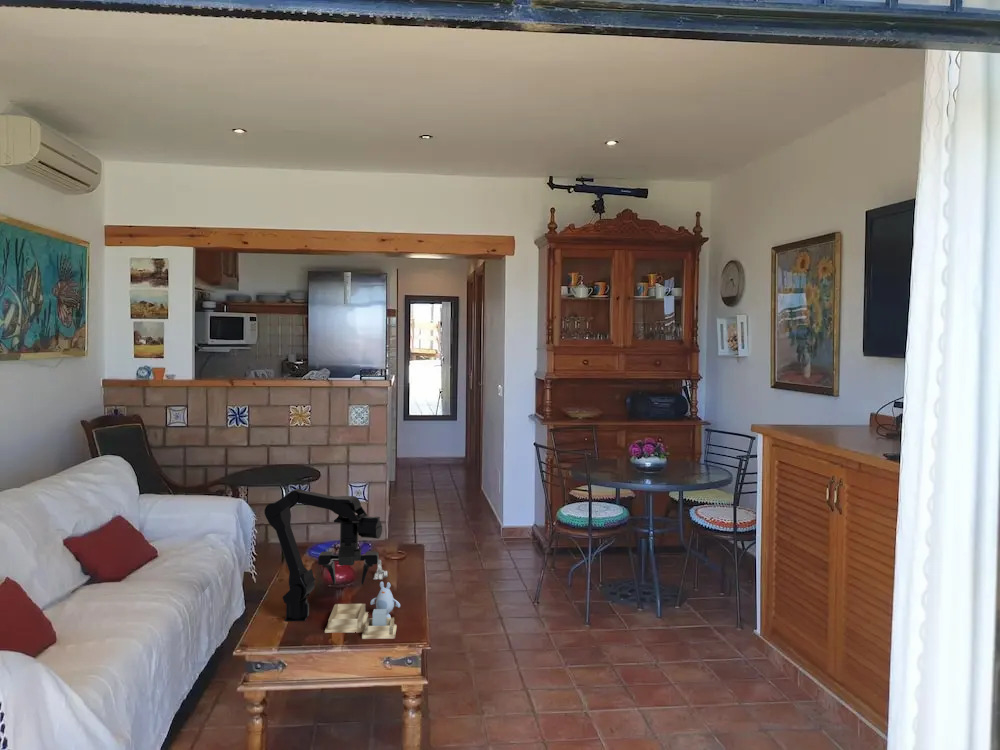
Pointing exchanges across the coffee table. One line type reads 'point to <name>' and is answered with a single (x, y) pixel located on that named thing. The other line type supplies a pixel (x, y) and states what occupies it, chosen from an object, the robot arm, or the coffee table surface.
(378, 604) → the toy figure
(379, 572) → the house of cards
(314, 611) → the coffee table surface
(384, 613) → the block
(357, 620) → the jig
